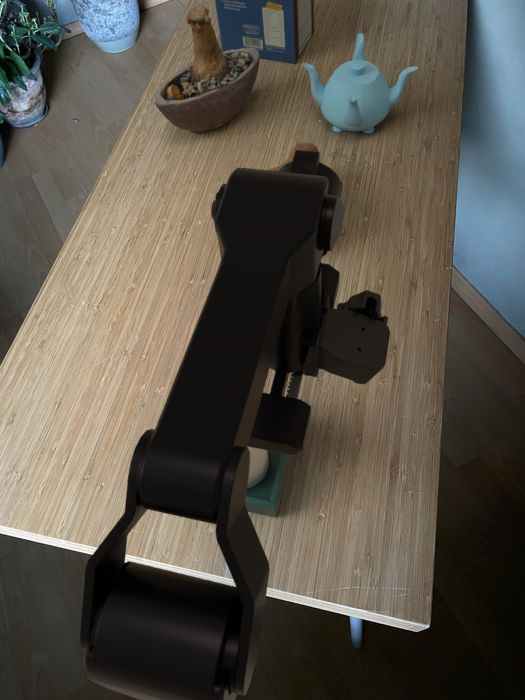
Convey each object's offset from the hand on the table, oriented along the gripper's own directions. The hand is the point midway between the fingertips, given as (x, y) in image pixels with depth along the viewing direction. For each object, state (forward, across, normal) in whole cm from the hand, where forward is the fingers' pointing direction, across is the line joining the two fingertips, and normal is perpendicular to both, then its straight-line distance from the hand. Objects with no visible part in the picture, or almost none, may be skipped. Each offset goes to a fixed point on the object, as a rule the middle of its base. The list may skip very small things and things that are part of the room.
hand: (292, 391), depth 60 cm
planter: (+13, +56, +26) cm, 63 cm away
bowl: (+13, +35, +8) cm, 38 cm away
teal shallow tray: (+13, -4, +6) cm, 15 cm away
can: (+13, -4, +6) cm, 15 cm away
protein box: (+13, +79, +22) cm, 83 cm away
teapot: (+13, +59, +2) cm, 61 cm away
